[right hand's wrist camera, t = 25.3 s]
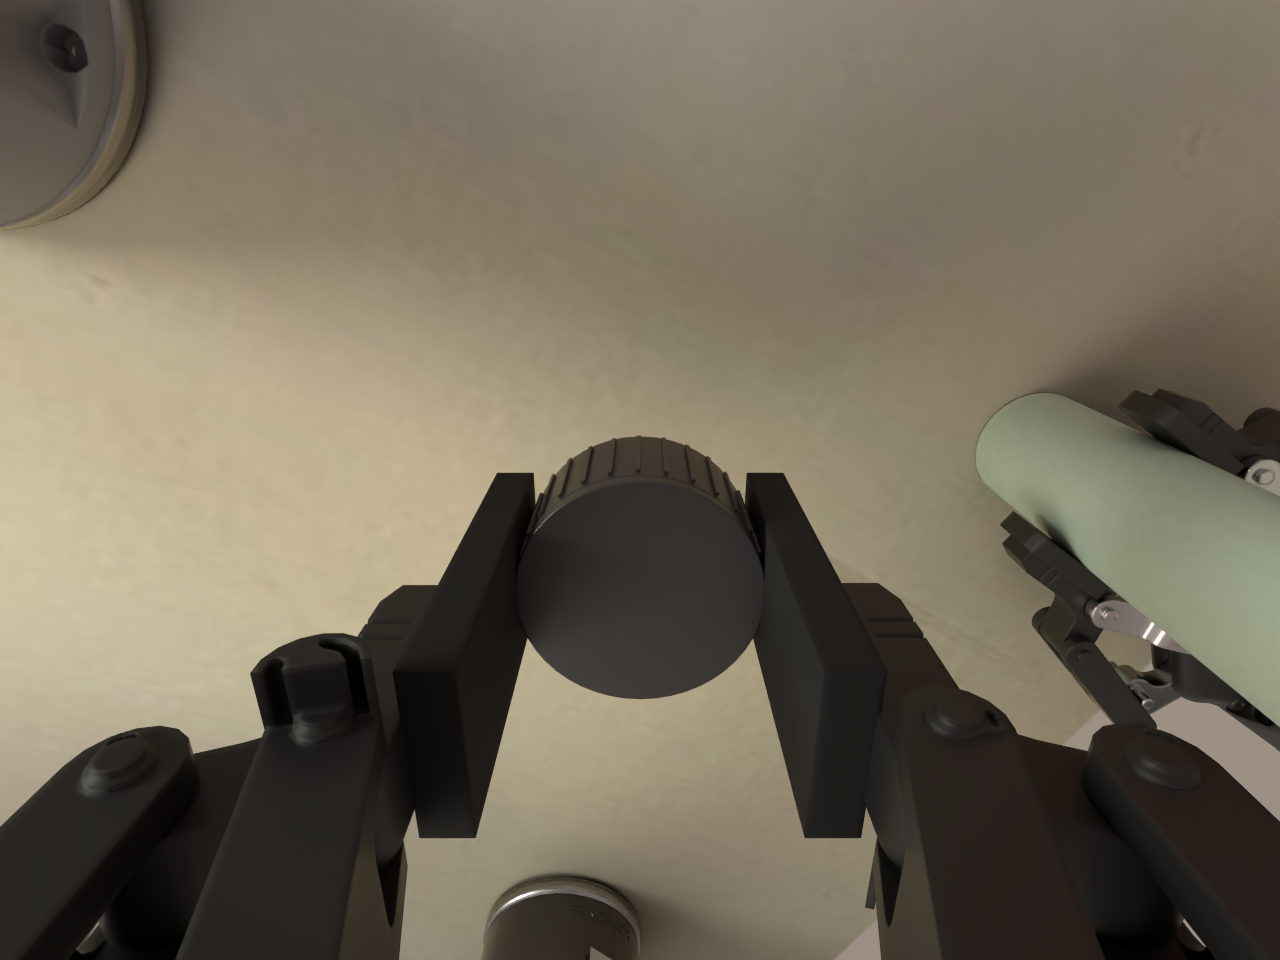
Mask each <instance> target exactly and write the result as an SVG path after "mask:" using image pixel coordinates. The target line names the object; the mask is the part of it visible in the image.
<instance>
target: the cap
mask: <svg viewBox="0 0 1280 960" xmlns="http://www.w3.org/2000/svg"><path fill="white" fill-rule="evenodd" d="M525 536H526V538H525V541H524V544H523V547H522V550H521V553H520V561H519V564H518V567H517V572H516V581H517V595H518V608H519V618H520V622H521V625H522V627H523V629H524V631H525V633H526V635H527V637H528V639H529V641H530V642H531V644H532V645H533V647H534V648H535V650H536V651H537V652H538V653H539V654H540V656H541V657H542V658H543V659H544V660H545V661H546V662H547V663H548V664H549V665H550V666H551V667H552V668H554V669H555V670H556V671H557V672H559V673H560V674H562V675H563V676H564V677H566V678H567V679H569V680H571V681H573V682H574V683H576V684H578V685H580V686H582V687H585V688H587V689H590V690H592V691H595V692H598V693H602V694H605V695H609V696H615V697H621V698H631V699H650V698H660V697H666V696H672V695H676V694H679V693H683V692H686V691H689V690H691V689H694V688H696V687H699V686H701V685H703V684H705V683H706V682H708V681H710V680H712V679H714V678H715V677H717V676H718V675H719V674H721V673H722V672H724V671H725V670H726V669H727V668H728V667H730V666H731V665H732V664H733V663H734V662H735V661H736V660H737V659H738V658H739V657H740V655H741V654H742V653H743V652H744V651H745V649H746V648H747V646H748V645H749V643H750V642H751V640H752V639H753V637H754V635H755V633H756V631H757V628H758V626H759V624H760V621H761V615H762V603H763V590H764V569H763V566H762V563H761V559H760V556H761V550H760V547H759V544H758V541H757V538H756V536H755V533H754V530H753V527H752V524H751V521H750V518H749V515H748V512H747V510H746V507H745V504H744V501H743V498H742V496H741V493H740V491H739V490H738V491H736V489H735V487H734V486H733V484H732V483H731V481H730V480H729V476H728V474H727V473H726V472H724V473H723V471H722V470H721V469H720V468H719V467H718V466H717V465H715V464H714V463H713V462H712V461H711V458H710V457H708V456H707V457H705V456H704V455H702V454H701V453H699V452H697V451H696V450H694V449H692V448H690V446H689V445H683V444H680V443H677V442H674V441H670V440H666V438H655V437H641V436H636V437H626V438H620V439H616V438H614V439H612V440H610V441H607V442H604V443H601V444H598V445H596V446H594V447H592V446H590V447H588V449H587V450H585V451H583V452H582V453H580V454H579V455H577V456H576V457H574V458H573V459H571V458H570V459H569V460H568V461H567V464H566V465H564V466H563V467H562V468H561V469H560V470H559V471H558V473H557V474H556V475H554V474H553V475H552V476H551V478H550V481H549V484H548V486H547V487H546V489H545V491H544V493H540V495H539V497H538V500H537V503H536V506H535V509H534V511H533V514H532V517H531V520H530V523H529V526H528V528H527V531H526V534H525Z"/></svg>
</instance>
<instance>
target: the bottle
mask: <svg viewBox="0 0 1280 960" xmlns="http://www.w3.org/2000/svg"><path fill="white" fill-rule="evenodd" d="M976 466H977V470H978V473H979V475H980V477H981V479H982V480H983V482H984V483H985V484H986V485H987V486H988V487H989V488H990V489H991V490H992V491H993V492H995V493H996V494H997V495H998V496H1000V497H1001V498H1002V499H1003V500H1004V501H1006V502H1007V503H1008V504H1009V505H1011V506H1012V507H1013V508H1014V509H1015V510H1017V511H1018V512H1019V513H1020V514H1021V515H1023V516H1024V517H1025V518H1026V519H1028V520H1029V521H1030V522H1031V523H1032V524H1034V525H1035V526H1036V527H1037V528H1038V529H1040V530H1041V531H1042V532H1043V533H1045V534H1046V535H1047V536H1048V537H1049V538H1051V539H1052V540H1053V541H1054V542H1056V543H1057V544H1058V545H1059V546H1061V547H1062V548H1063V549H1064V550H1065V551H1067V552H1068V553H1069V554H1070V555H1071V556H1073V557H1074V558H1075V559H1076V560H1078V561H1079V562H1080V563H1081V564H1082V565H1084V566H1085V567H1086V568H1087V569H1088V570H1090V571H1091V572H1092V573H1093V574H1094V575H1096V576H1097V577H1098V578H1099V579H1100V580H1102V581H1103V582H1104V583H1105V584H1106V585H1108V586H1109V587H1110V588H1111V589H1113V590H1114V591H1115V592H1116V593H1117V594H1119V595H1120V596H1121V597H1122V598H1123V599H1125V600H1126V601H1127V602H1128V603H1130V604H1131V605H1132V606H1133V607H1134V608H1136V609H1137V610H1138V611H1139V612H1140V613H1142V614H1143V615H1144V616H1145V617H1147V618H1148V619H1149V620H1150V621H1151V622H1153V623H1154V624H1155V625H1156V626H1157V627H1159V628H1160V629H1161V630H1162V631H1164V632H1165V633H1166V634H1167V635H1168V636H1170V637H1171V638H1172V639H1173V640H1175V641H1176V642H1177V643H1178V644H1179V645H1181V646H1182V647H1183V648H1184V649H1185V650H1187V651H1188V652H1189V653H1190V654H1192V655H1193V656H1194V657H1195V658H1196V659H1198V660H1199V661H1200V662H1201V663H1202V664H1204V665H1205V666H1206V667H1207V668H1209V669H1210V670H1211V671H1212V672H1213V673H1215V674H1216V675H1217V676H1218V677H1219V678H1221V679H1222V680H1223V681H1224V682H1226V683H1227V684H1228V685H1229V686H1230V687H1232V688H1233V689H1234V690H1235V691H1236V692H1238V693H1239V694H1240V695H1241V696H1243V697H1244V698H1245V699H1246V700H1247V701H1249V702H1250V703H1251V704H1252V705H1253V706H1255V707H1256V708H1257V709H1258V710H1260V711H1261V712H1262V713H1263V714H1264V715H1266V716H1267V717H1268V718H1269V719H1270V720H1272V721H1273V722H1274V723H1275V724H1277V725H1278V726H1279V727H1280V496H1278V495H1276V494H1274V493H1272V492H1269V491H1267V490H1265V489H1263V488H1261V487H1259V486H1257V485H1254V484H1252V483H1250V482H1248V481H1246V480H1244V479H1241V478H1239V477H1237V476H1235V475H1233V474H1231V473H1229V472H1226V471H1224V470H1222V469H1220V468H1218V467H1216V466H1213V465H1211V464H1209V463H1207V462H1205V461H1203V460H1200V459H1198V458H1196V457H1194V456H1192V455H1190V454H1188V453H1185V452H1183V451H1181V450H1179V449H1177V448H1175V447H1172V446H1170V445H1168V444H1166V443H1164V442H1162V441H1160V440H1157V439H1155V438H1153V437H1151V436H1149V435H1147V434H1144V433H1142V432H1140V431H1138V430H1136V429H1134V428H1132V427H1129V426H1127V425H1125V424H1123V423H1121V422H1119V421H1116V420H1114V419H1112V418H1110V417H1108V416H1106V415H1103V414H1101V413H1099V412H1097V411H1095V410H1093V409H1091V408H1088V407H1086V406H1084V405H1082V404H1080V403H1078V402H1075V401H1073V400H1071V399H1069V398H1067V397H1065V396H1062V395H1058V394H1053V393H1037V394H1031V395H1027V396H1024V397H1021V398H1018V399H1016V400H1014V401H1012V402H1010V403H1009V404H1007V405H1006V406H1004V407H1003V408H1002V409H1000V410H999V411H998V412H997V413H996V414H995V415H994V416H993V417H992V418H991V419H990V420H989V422H988V423H987V424H986V426H985V427H984V429H983V431H982V433H981V435H980V437H979V440H978V443H977V447H976Z"/></svg>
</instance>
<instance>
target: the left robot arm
mask: <svg viewBox="0 0 1280 960" xmlns="http://www.w3.org/2000/svg"><path fill="white" fill-rule="evenodd" d="M1119 408H1120V409H1121V410H1122V411H1123V412H1125V413H1126V414H1127V415H1128V416H1129V417H1131V418H1132V419H1133V420H1134V421H1135V422H1137V423H1138V424H1139V425H1140V426H1141V427H1143V428H1144V429H1145V430H1146V431H1147V432H1149V433H1150V434H1151V435H1152V436H1153V437H1155V438H1156V439H1157V440H1160V441H1162V442H1164V443H1166V444H1168V445H1170V446H1172V447H1175V448H1177V449H1179V450H1181V451H1183V452H1185V453H1188V454H1190V455H1192V456H1194V457H1196V458H1198V459H1200V460H1203V461H1205V462H1207V463H1209V464H1211V465H1213V466H1216V467H1218V468H1220V469H1222V470H1224V471H1226V472H1229V473H1231V474H1233V475H1235V476H1237V477H1239V478H1241V479H1244V480H1246V481H1248V482H1250V483H1252V484H1254V485H1257V486H1259V487H1261V488H1263V489H1265V490H1267V491H1269V492H1272V493H1274V494H1276V495H1278V496H1280V411H1278V410H1275V409H1272V408H1261V409H1258V410H1256V411H1254V412H1253V413H1252V414H1250V415H1249V417H1248V418H1247V419H1246V421H1245V423H1244V427H1243V428H1242V429H1240V430H1238V431H1235V430H1234V429H1233V428H1232V427H1231V426H1229V425H1228V424H1227V423H1226V422H1225V421H1223V420H1222V419H1221V418H1220V417H1219V416H1218V415H1217V414H1215V413H1214V412H1213V411H1212V410H1211V409H1210V408H1209V407H1208V406H1207V405H1205V404H1204V403H1202V402H1199V401H1196V400H1194V399H1191V398H1188V397H1185V396H1182V395H1180V394H1177V393H1174V392H1171V391H1167V390H1163V389H1158V390H1157V391H1156V392H1155V393H1154V394H1153V395H1152V396H1149V395H1147V394H1144V393H1141V392H1139V391H1136V390H1134V391H1133V392H1132V393H1131V394H1130V395H1129V396H1128V397H1127V398H1126V399H1125V400H1124V401H1123V402H1122V403H1121V404H1120V405H1119ZM1000 525H1001V526H1002V527H1003V528H1004V529H1005V530H1006V531H1007V532H1009V533H1010V534H1011V535H1010V536H1009V537H1008V538H1007V539H1006V540H1005V541H1004V542H1003V543H1002V544H1003V546H1004V548H1005V550H1006V552H1007V554H1008V555H1009V556H1010V557H1011V558H1012V559H1013V560H1014V561H1015V562H1016V563H1017V564H1018V565H1020V566H1021V567H1022V568H1023V569H1024V570H1025V571H1026V572H1027V573H1028V574H1030V575H1031V576H1032V577H1034V578H1035V579H1037V580H1038V581H1039V582H1041V583H1042V584H1043V585H1045V586H1046V587H1048V588H1049V589H1050V590H1052V591H1053V592H1055V598H1054V601H1053V603H1052V605H1051V607H1045V608H1042V609H1040V610H1039V611H1037V612H1036V613H1035V615H1034V616H1033V618H1032V625H1033V627H1034V629H1035V630H1036V631H1037V632H1038V634H1039V635H1040V636H1041V637H1042V639H1043V640H1044V641H1045V642H1046V644H1047V645H1048V646H1049V647H1050V649H1051V650H1052V651H1053V652H1054V654H1055V655H1056V656H1057V657H1058V659H1059V660H1060V661H1061V662H1062V664H1063V665H1064V666H1065V667H1066V669H1067V670H1068V671H1069V672H1070V673H1071V675H1072V676H1073V677H1074V678H1075V680H1076V681H1077V682H1078V683H1079V685H1080V686H1081V687H1082V688H1083V690H1084V691H1085V692H1086V693H1087V695H1088V696H1089V697H1090V698H1091V699H1092V701H1093V702H1094V703H1095V704H1096V705H1097V706H1098V707H1099V708H1100V709H1101V711H1102V712H1103V713H1104V714H1105V715H1106V716H1107V717H1108V718H1109V719H1110V720H1111V722H1112V723H1113V724H1118V723H1126V724H1135V725H1143V726H1148V727H1151V728H1154V729H1157V725H1156V723H1155V721H1154V720H1153V719H1152V718H1151V716H1150V714H1152V713H1154V712H1156V711H1157V710H1159V709H1161V708H1163V707H1164V706H1166V705H1168V704H1170V703H1171V702H1173V701H1175V700H1177V699H1178V698H1180V697H1183V698H1185V699H1187V700H1190V701H1194V702H1200V703H1211V704H1214V705H1217V706H1219V707H1220V708H1221V709H1223V710H1224V711H1225V712H1227V713H1228V714H1230V715H1231V716H1232V717H1234V718H1235V719H1237V720H1238V721H1239V722H1241V723H1242V724H1243V725H1245V726H1246V727H1248V728H1249V729H1250V730H1252V731H1253V732H1254V733H1256V734H1257V735H1259V736H1260V737H1261V738H1263V739H1264V740H1266V741H1267V742H1268V743H1270V744H1271V745H1272V746H1274V747H1275V748H1276V749H1277V750H1278V751H1280V727H1279V726H1278V725H1277V724H1275V723H1274V722H1273V721H1272V720H1270V719H1269V718H1268V717H1267V716H1266V715H1264V714H1263V713H1262V712H1261V711H1260V710H1258V709H1257V708H1256V707H1255V706H1253V705H1252V704H1251V703H1250V702H1249V701H1247V700H1246V699H1245V698H1244V697H1243V696H1241V695H1240V694H1239V693H1238V692H1236V691H1235V690H1234V689H1233V688H1232V687H1230V686H1229V685H1228V684H1227V683H1226V682H1224V681H1223V680H1222V679H1221V678H1219V677H1218V676H1217V675H1216V674H1215V673H1213V672H1212V671H1211V670H1210V669H1209V668H1207V667H1206V666H1205V665H1204V664H1202V663H1201V662H1200V661H1199V660H1198V659H1196V658H1195V657H1194V656H1193V655H1192V654H1190V653H1189V652H1188V651H1187V650H1185V649H1184V648H1183V647H1182V646H1181V645H1179V644H1178V643H1177V642H1176V641H1175V640H1173V639H1172V638H1171V637H1170V636H1168V635H1167V634H1166V633H1165V632H1164V631H1162V630H1161V629H1160V628H1159V627H1157V626H1156V625H1155V624H1154V623H1153V622H1151V621H1150V620H1149V619H1148V618H1147V617H1145V616H1144V615H1143V614H1142V613H1140V612H1139V611H1138V610H1137V609H1136V608H1134V607H1133V606H1132V605H1131V604H1130V603H1128V602H1127V601H1126V600H1125V599H1123V598H1122V597H1121V596H1120V595H1119V594H1117V593H1116V592H1115V591H1114V590H1113V589H1111V588H1110V587H1109V586H1108V585H1106V584H1105V583H1104V582H1103V581H1102V580H1100V579H1099V578H1098V577H1097V576H1096V575H1094V574H1093V573H1092V572H1091V571H1090V570H1088V569H1087V568H1086V567H1085V566H1084V565H1082V564H1081V563H1080V562H1079V561H1078V560H1076V559H1075V558H1074V557H1073V556H1071V555H1070V554H1069V553H1068V552H1067V551H1065V550H1064V549H1063V548H1062V547H1061V546H1059V545H1058V544H1057V543H1056V542H1054V541H1053V540H1052V539H1051V538H1049V537H1048V536H1047V535H1045V534H1044V533H1043V532H1041V531H1040V530H1039V529H1037V528H1036V527H1035V526H1033V525H1032V524H1030V523H1029V522H1028V521H1026V520H1025V519H1024V518H1022V517H1021V516H1020V515H1018V514H1017V513H1016V512H1014V511H1013V512H1012V513H1011V514H1010V515H1009V516H1008V517H1007V518H1006V519H1005V520H1004V521H1003V522H1002V523H1001V524H1000ZM1103 629H1107V630H1112V631H1116V632H1120V633H1125V634H1129V635H1133V636H1138V637H1141V638H1143V639H1145V640H1147V641H1148V642H1150V643H1151V652H1152V664H1153V667H1154V670H1151V671H1148V672H1139V671H1137V670H1135V669H1134V668H1133V667H1131V666H1129V665H1121V666H1118V665H1117V664H1116V663H1115V662H1112V661H1110V662H1108V660H1107V659H1106V658H1105V656H1104V655H1103V654H1102V653H1101V651H1100V650H1099V649H1098V647H1097V646H1096V645H1095V644H1094V643H1095V642H1096V640H1097V638H1098V637H1099V635H1100V633H1101V632H1102V630H1103ZM639 953H640V924H639V920H638V917H637V915H636V913H635V911H634V910H633V908H632V907H631V905H630V904H629V903H628V902H627V901H626V900H625V899H624V898H623V897H622V896H620V895H619V894H618V893H616V892H615V891H613V890H611V889H609V888H607V887H605V886H603V885H601V884H598V883H595V882H592V881H588V880H584V879H579V878H571V877H551V878H543V879H538V880H534V881H530V882H527V883H524V884H522V885H519V886H517V887H515V888H513V889H512V890H510V891H509V892H507V893H506V894H504V895H503V896H502V897H501V898H500V899H499V900H498V901H497V902H496V903H495V905H494V906H493V908H492V909H491V911H490V914H489V916H488V920H487V925H486V930H485V934H484V948H483V953H482V958H481V960H638V957H639Z"/></svg>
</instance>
